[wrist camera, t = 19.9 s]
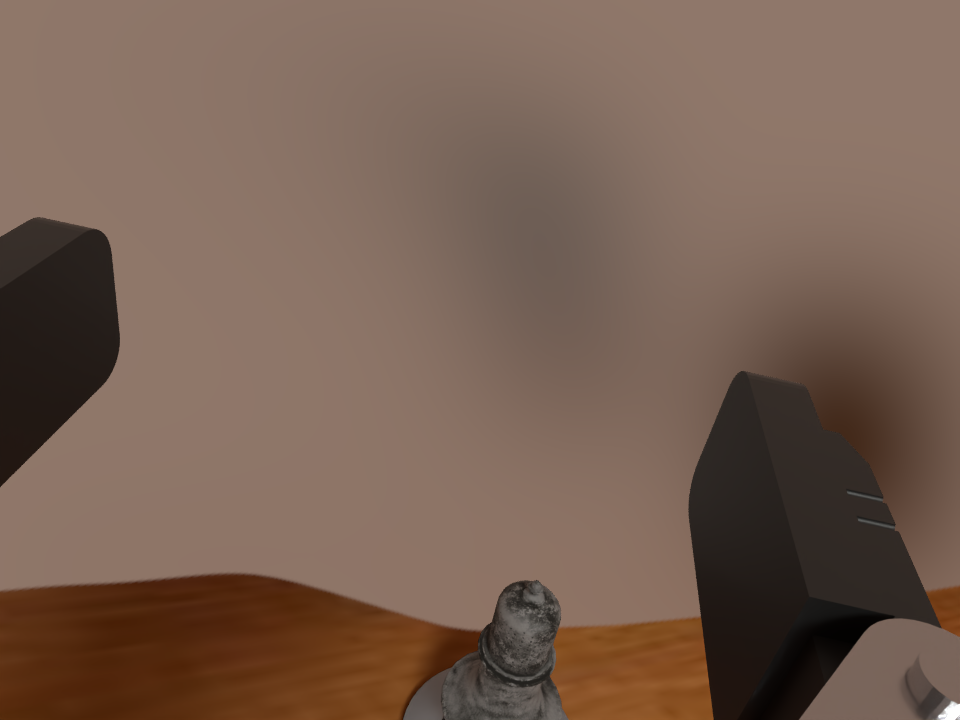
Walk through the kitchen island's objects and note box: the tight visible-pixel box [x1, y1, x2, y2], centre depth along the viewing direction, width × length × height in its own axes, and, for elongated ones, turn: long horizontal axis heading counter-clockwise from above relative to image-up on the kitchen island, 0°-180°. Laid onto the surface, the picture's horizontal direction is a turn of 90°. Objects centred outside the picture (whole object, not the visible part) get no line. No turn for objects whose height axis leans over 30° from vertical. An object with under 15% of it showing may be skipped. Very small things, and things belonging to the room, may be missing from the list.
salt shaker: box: [441, 580, 562, 720], centre depth 36 cm, size 6×6×12 cm
